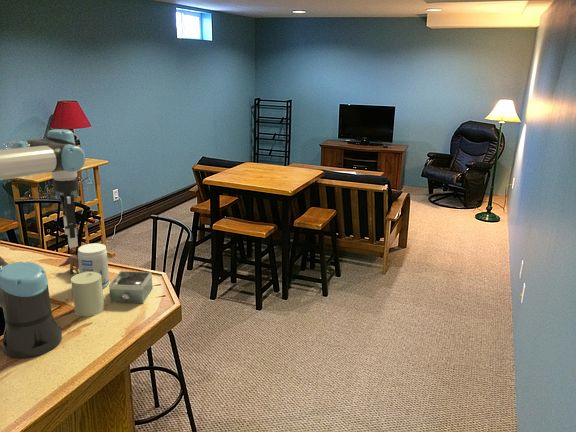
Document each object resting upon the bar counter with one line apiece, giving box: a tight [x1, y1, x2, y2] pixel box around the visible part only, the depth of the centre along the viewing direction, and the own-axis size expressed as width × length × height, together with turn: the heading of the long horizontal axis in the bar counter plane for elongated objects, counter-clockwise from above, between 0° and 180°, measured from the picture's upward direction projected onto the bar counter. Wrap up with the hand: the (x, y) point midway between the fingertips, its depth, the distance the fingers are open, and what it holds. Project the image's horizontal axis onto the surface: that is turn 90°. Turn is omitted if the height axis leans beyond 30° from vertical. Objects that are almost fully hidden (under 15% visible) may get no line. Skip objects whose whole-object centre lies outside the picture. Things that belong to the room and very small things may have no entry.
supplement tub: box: [77, 242, 110, 289], centre depth 170 cm, size 10×10×15 cm
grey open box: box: [108, 270, 153, 304], centre depth 164 cm, size 12×11×6 cm
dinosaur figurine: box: [58, 253, 80, 275], centre depth 181 cm, size 14×6×9 cm, turn 80°
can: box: [70, 272, 106, 317], centre depth 154 cm, size 9×9×12 cm
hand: (71, 240), depth 160 cm, fingers open, 13 cm apart
